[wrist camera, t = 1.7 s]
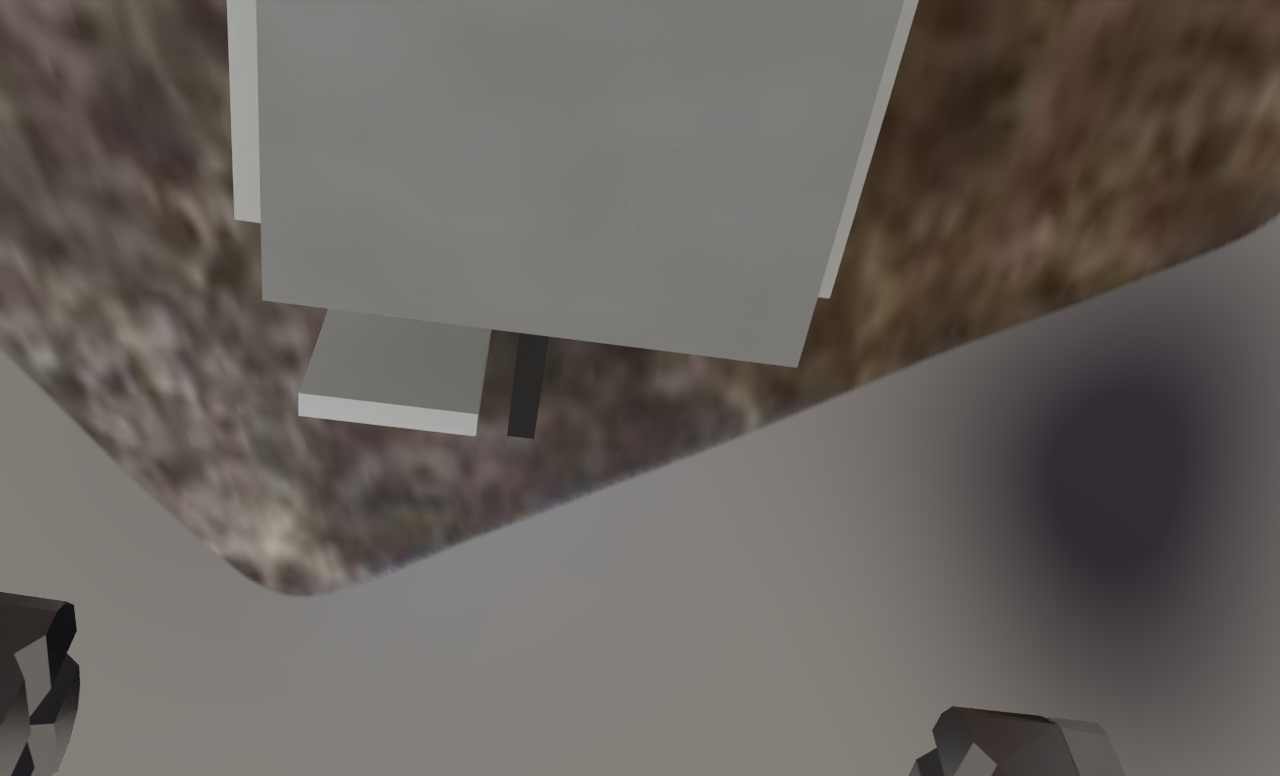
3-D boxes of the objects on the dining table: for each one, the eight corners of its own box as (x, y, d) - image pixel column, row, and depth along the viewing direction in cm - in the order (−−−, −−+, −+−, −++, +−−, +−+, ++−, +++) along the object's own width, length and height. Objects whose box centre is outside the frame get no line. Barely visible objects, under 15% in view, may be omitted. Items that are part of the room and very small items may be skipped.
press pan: (912, -240, 29) (961, -198, 24) (740, 408, 40) (755, 512, 36) (303, -352, 27) (248, -326, 23) (302, 355, 38) (265, 457, 34)
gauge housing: (1020, -382, 31) (1145, -346, 24) (813, 323, 44) (853, 488, 36) (219, -541, 29) (86, -556, 22) (243, 249, 42) (164, 408, 34)
